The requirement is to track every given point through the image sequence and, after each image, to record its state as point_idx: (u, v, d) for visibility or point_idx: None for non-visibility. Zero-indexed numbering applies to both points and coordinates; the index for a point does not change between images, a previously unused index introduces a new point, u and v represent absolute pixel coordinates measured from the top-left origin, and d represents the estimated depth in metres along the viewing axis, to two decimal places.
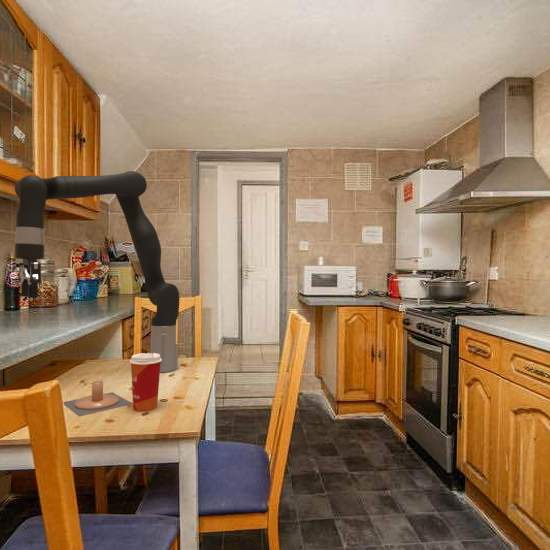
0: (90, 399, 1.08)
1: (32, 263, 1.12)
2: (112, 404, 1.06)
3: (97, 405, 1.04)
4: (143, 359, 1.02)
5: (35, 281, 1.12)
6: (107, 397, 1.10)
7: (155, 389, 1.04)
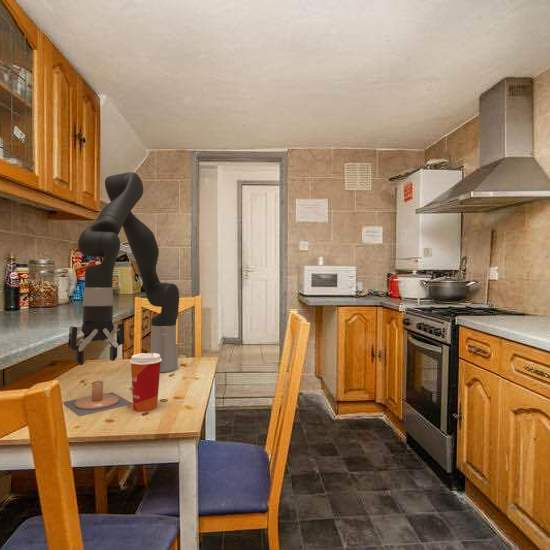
0: (90, 399, 1.08)
1: None
2: (112, 404, 1.06)
3: (97, 405, 1.04)
4: (143, 359, 1.02)
5: None
6: (107, 397, 1.10)
7: (155, 389, 1.04)
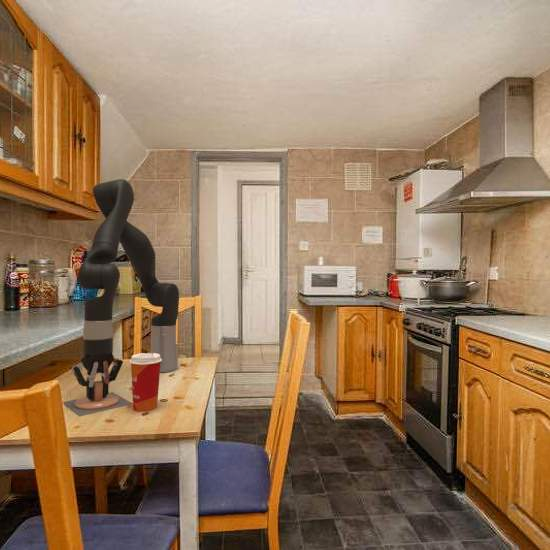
0: None
1: None
2: (112, 404, 1.06)
3: (97, 405, 1.04)
4: (143, 359, 1.02)
5: None
6: (107, 397, 1.10)
7: (155, 389, 1.04)
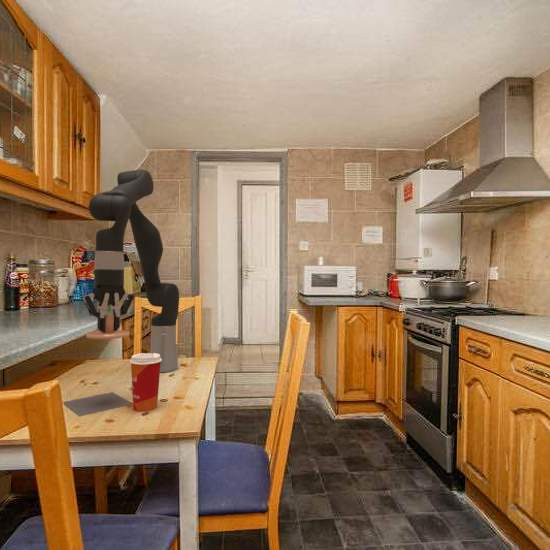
0: (101, 332, 1.08)
1: None
2: (123, 335, 1.05)
3: (108, 335, 1.03)
4: (143, 359, 1.02)
5: None
6: (118, 331, 1.09)
7: (155, 389, 1.04)
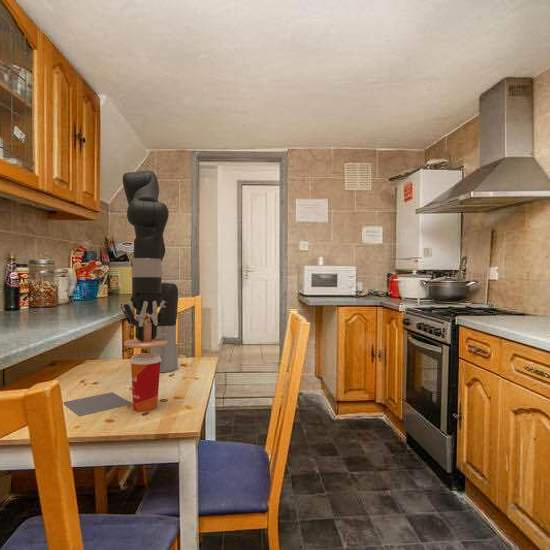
0: None
1: None
2: (162, 344, 1.03)
3: (148, 344, 1.01)
4: (143, 359, 1.02)
5: None
6: (155, 340, 1.07)
7: (155, 389, 1.04)
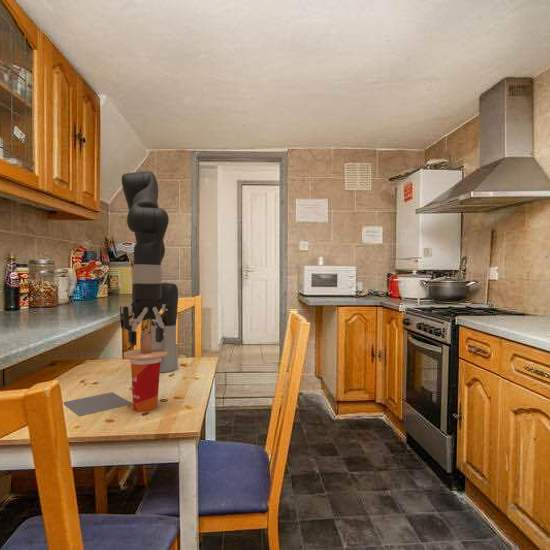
0: (138, 352, 1.06)
1: None
2: (162, 355, 1.03)
3: (148, 356, 1.01)
4: None
5: None
6: (155, 351, 1.07)
7: (155, 389, 1.04)
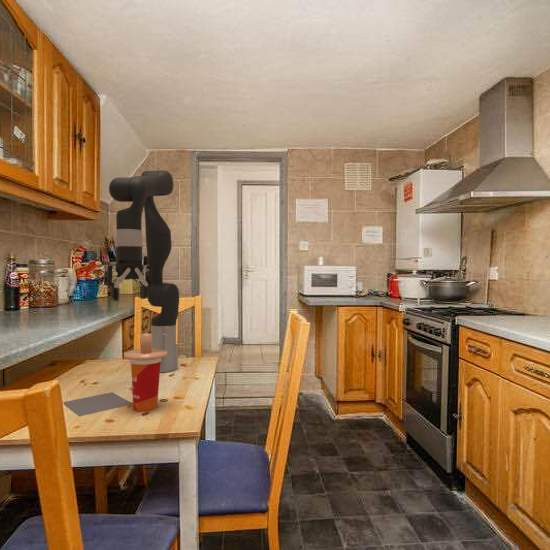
0: (138, 352, 1.06)
1: None
2: (162, 355, 1.03)
3: (148, 356, 1.01)
4: None
5: None
6: (155, 351, 1.07)
7: (155, 389, 1.04)
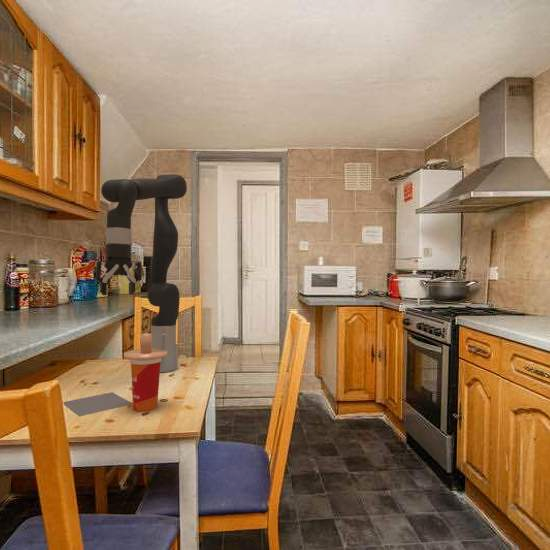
0: (138, 352, 1.06)
1: None
2: (162, 355, 1.03)
3: (148, 356, 1.01)
4: None
5: None
6: (155, 351, 1.07)
7: (155, 389, 1.04)
